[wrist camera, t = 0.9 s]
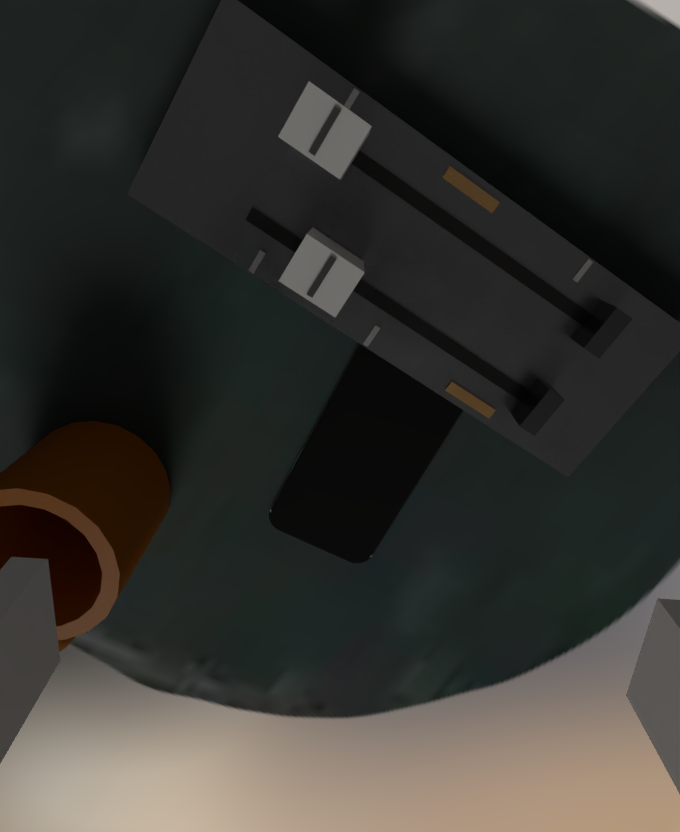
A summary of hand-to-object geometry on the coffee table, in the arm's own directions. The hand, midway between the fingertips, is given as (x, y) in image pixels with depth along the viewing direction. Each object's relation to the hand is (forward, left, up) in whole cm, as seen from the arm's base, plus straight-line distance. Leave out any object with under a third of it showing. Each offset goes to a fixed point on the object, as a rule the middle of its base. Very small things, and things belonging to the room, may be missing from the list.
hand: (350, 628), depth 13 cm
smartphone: (+4, -4, -23) cm, 24 cm away
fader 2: (-4, +4, -21) cm, 21 cm away
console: (0, +6, -23) cm, 24 cm away
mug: (-8, -17, -23) cm, 30 cm away
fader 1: (-7, +9, -21) cm, 23 cm away
